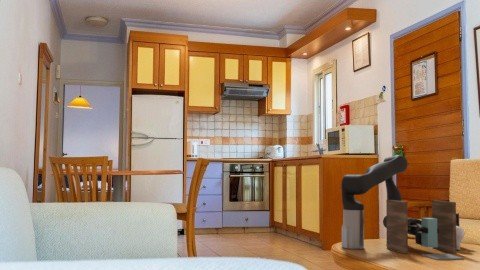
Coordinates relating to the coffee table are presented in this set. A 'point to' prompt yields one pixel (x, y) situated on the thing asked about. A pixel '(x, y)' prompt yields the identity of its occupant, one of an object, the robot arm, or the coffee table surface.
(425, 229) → the robot arm
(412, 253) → the coffee table surface
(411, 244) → the coffee table surface
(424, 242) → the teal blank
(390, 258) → the coffee table surface
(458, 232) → the lightbulb
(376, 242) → the coffee table surface
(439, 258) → the slate mat
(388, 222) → the wooden divider stand
